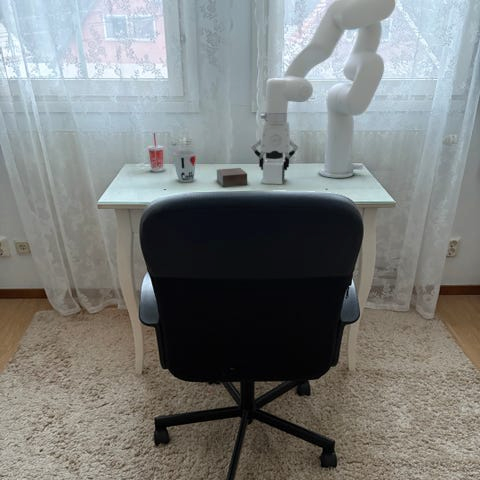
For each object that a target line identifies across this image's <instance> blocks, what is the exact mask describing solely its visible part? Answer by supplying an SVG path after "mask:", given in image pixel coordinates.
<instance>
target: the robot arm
mask: <svg viewBox="0 0 480 480" xmlns="http://www.w3.org/2000/svg"><path fill="white" fill-rule="evenodd" d="M395 8H396V0H335V1H333V2H332V3H331V4H330V5H329V6H328V7H327V10H326V11H325V13H324V15H323V16H322V18H321V20H320V22H319V24H318V26H317V27H316V29H315V31H314V33H313V35H312V37H311V38H310V40H309V42H308V43H307V44H306V45H305V46H304V47H303V48H302V49H301V50H300V51H299V52H298V54H296V56H295V57H294V58H293V59H292V60H291V62H290V63H289V65H288V67H287V68H286V69H285V71H284V73H283V75H282V77H273V78H272V77H271V78H268V79H267V81H266V84H265V110H264V111H265V112H264V113H261V114H260V119H264V121H263V122H262V126H261V131H260V139H259V140H257V141H256V142H254V143H252V145H251V146H250V147H251V150H252V151H253V152H254V154H255V155H256V156H257V158H259V159H258V160H259V161H258V167H259V168H260V171H263V164H264V162H265V159H264V156H265V155H266V153H270V152H272V151H278V152H279V153H283V154H284V155H285V157H284V160H285V165H284V169H285V171H287V170H288V168H289V167H290V159H291V158H292V157H293V156H294V155H295V154H296V152H297V150H298V149H299V146H298V144H296V143H295V142H294V141H292V140H291V129H290V122H289V121H288V103H289V102H293V103H294V102H295V103H305V102H306V101H309V99H310V98H311V97H312V96H313V92H314V86H313V84H312V82H311V81H309V79H306V76H307V75H308V74H309V73H310V72H311V70H313V69H314V68H315V67H316V66H318V65H320V64H322V63H323V62H325V61H327V60H328V59H329V58H330V57H331V56H332V55H333V53H334V51H335V49H336V47H337V46H338V44H339V43H340V40H341V39H342V37H343V36H344V34H345V32H346V31H354V30H357V33H356V36H355V38H354V41H353V44H352V46H351V48H350V50H349V53H348V55H347V58H346V60H345V62H344V64H343V68H342V73H343V75H344V78H346V79H347V80H349V81H351V82H352V83H347V82H339V83H336V84H334V85H333V86H331V88H329V90H328V92H327V95H326V111H327V123H326V124H327V125H326V139H325V152H324V167H323V168H321V169H320V170H319V174H320V176H323V177H327V178H333V179H343V178H350V177H352V176H353V175H354V170H357V171H358V170H363V169H364V165H363V163H353V162H352V161H351V159H352V148H353V138H354V129H355V118H354V117H355V116H356V117H357V116H360V115H362V114H364V113H365V112H366V111H367V109H368V108H369V106H370V104H371V102H372V100H373V98H374V96H375V94H376V92H377V90H378V87H379V85H380V83H381V81H382V78H383V76H384V72H385V62H384V59H383V58H382V57H383V56H381V54H379V53H377V52H378V49H379V46H380V44H381V41H382V37H383V28H382V22H383V21H384V20H387V19H388V18H389V17H390V16H391V15H392V14H393V12H394V11H395ZM258 146H260V151H259V150H258V149H257V147H258ZM290 146H291V147H292V149H291V150H290Z"/></svg>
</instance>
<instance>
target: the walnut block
mask: <svg viewBox="0 0 480 480" xmlns="http://www.w3.org/2000/svg"><path fill="white" fill-rule="evenodd" d="M216 181H217V182H218V183H219V184H220V185H221V187H223V188H227V187H239V186H247V185H248V173H247V172H246V171H245V170H243V169H242V168H241V167H233V168H220V169H216Z"/></svg>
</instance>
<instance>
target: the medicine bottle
mask: <svg viewBox="0 0 480 480" xmlns="http://www.w3.org/2000/svg"><path fill="white" fill-rule="evenodd" d="M284 165H285V159H284V153H279V152H278V151H272V152H270V153H265V159H264V164H263V170H262V184H265V185H283V183H284V181H285V175H286V174H285V172H286V170H285V169H284Z"/></svg>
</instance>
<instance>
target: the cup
mask: <svg viewBox="0 0 480 480" xmlns="http://www.w3.org/2000/svg"><path fill="white" fill-rule="evenodd" d="M196 154H197V153H196V151H194V150H187V149H185V150H183V149H182V150H176V151H174V152H173V154H172V155H173V164H174V169H175V172H176V176H177V178H178V181H179V182H180V183H190V182H193V181H194V178H195V174H196V173H195V172H196V160H197V159H196V158H197V157H196Z"/></svg>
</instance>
